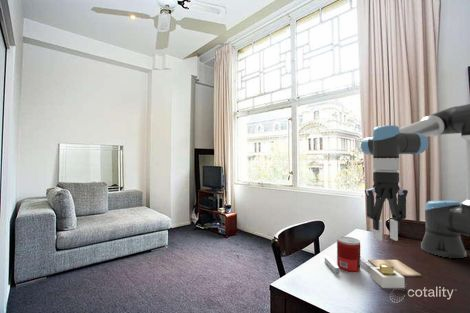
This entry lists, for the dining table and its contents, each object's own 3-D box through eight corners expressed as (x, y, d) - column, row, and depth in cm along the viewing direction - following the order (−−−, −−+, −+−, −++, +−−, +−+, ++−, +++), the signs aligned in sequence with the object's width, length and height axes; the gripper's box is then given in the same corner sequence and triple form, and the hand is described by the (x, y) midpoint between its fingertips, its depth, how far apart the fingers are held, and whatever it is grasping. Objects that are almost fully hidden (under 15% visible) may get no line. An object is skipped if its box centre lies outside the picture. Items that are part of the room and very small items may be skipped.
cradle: (360, 262, 93) (360, 256, 93) (375, 274, 83) (375, 267, 83) (324, 262, 93) (324, 256, 93) (335, 274, 83) (335, 267, 83)
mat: (397, 261, 94) (397, 259, 94) (420, 276, 82) (420, 274, 82) (367, 261, 94) (367, 259, 94) (387, 276, 82) (387, 274, 82)
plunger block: (389, 276, 81) (389, 267, 81) (404, 288, 74) (404, 277, 74) (370, 276, 81) (370, 267, 81) (383, 288, 74) (382, 277, 74)
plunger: (388, 272, 80) (388, 263, 80) (396, 278, 76) (396, 268, 76) (377, 272, 80) (376, 263, 80) (384, 278, 76) (384, 268, 76)
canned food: (363, 274, 83) (363, 244, 83) (339, 272, 85) (339, 242, 85) (356, 264, 91) (356, 237, 91) (335, 262, 92) (335, 235, 92)
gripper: (403, 170, 82) (403, 235, 82) (354, 170, 82) (354, 235, 82) (420, 171, 74) (420, 243, 74) (366, 171, 74) (367, 243, 74)
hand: (386, 239), depth 78 cm, fingers open, 4 cm apart
